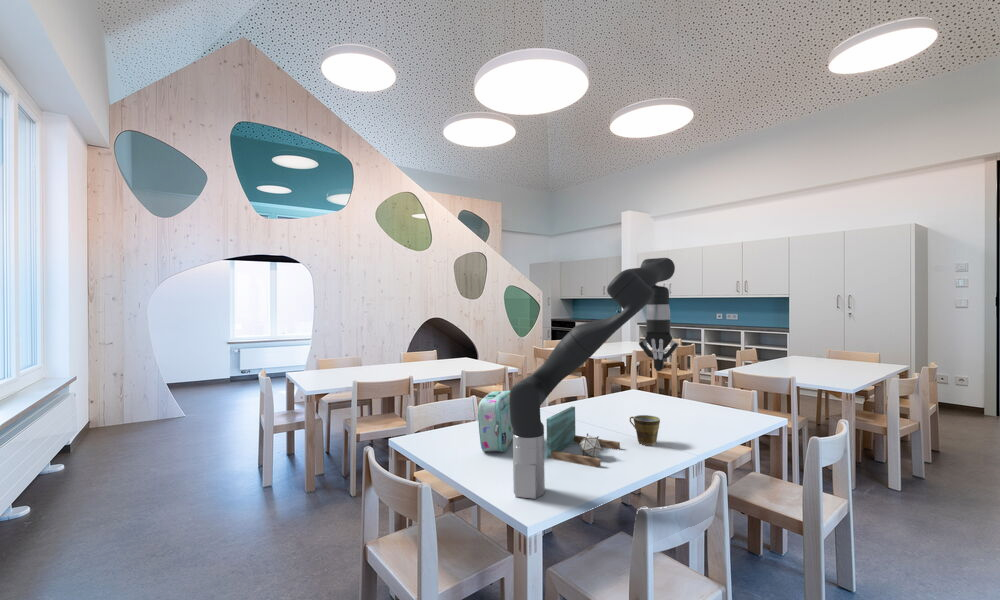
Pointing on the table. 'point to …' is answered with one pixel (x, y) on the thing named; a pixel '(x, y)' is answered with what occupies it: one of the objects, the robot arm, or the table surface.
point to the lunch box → (495, 421)
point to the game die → (590, 446)
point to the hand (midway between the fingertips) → (659, 370)
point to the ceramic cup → (646, 429)
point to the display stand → (569, 439)
